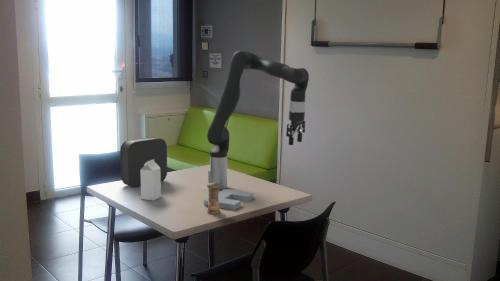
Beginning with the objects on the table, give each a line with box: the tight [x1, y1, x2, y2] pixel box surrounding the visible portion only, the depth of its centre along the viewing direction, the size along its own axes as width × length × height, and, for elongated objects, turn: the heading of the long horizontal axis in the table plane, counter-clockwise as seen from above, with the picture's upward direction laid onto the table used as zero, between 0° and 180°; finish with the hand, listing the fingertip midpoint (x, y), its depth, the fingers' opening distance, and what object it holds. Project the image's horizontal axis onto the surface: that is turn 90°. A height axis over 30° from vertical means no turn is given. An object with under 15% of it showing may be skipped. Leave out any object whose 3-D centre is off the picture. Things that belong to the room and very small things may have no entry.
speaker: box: [119, 136, 168, 188], centre depth 262 cm, size 25×9×25 cm, turn 136°
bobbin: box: [206, 183, 221, 215], centre depth 216 cm, size 6×6×13 cm
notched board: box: [203, 188, 255, 211], centre depth 233 cm, size 16×22×2 cm
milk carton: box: [140, 159, 162, 201], centre depth 236 cm, size 7×7×19 cm
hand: (295, 143), depth 233 cm, fingers open, 8 cm apart
